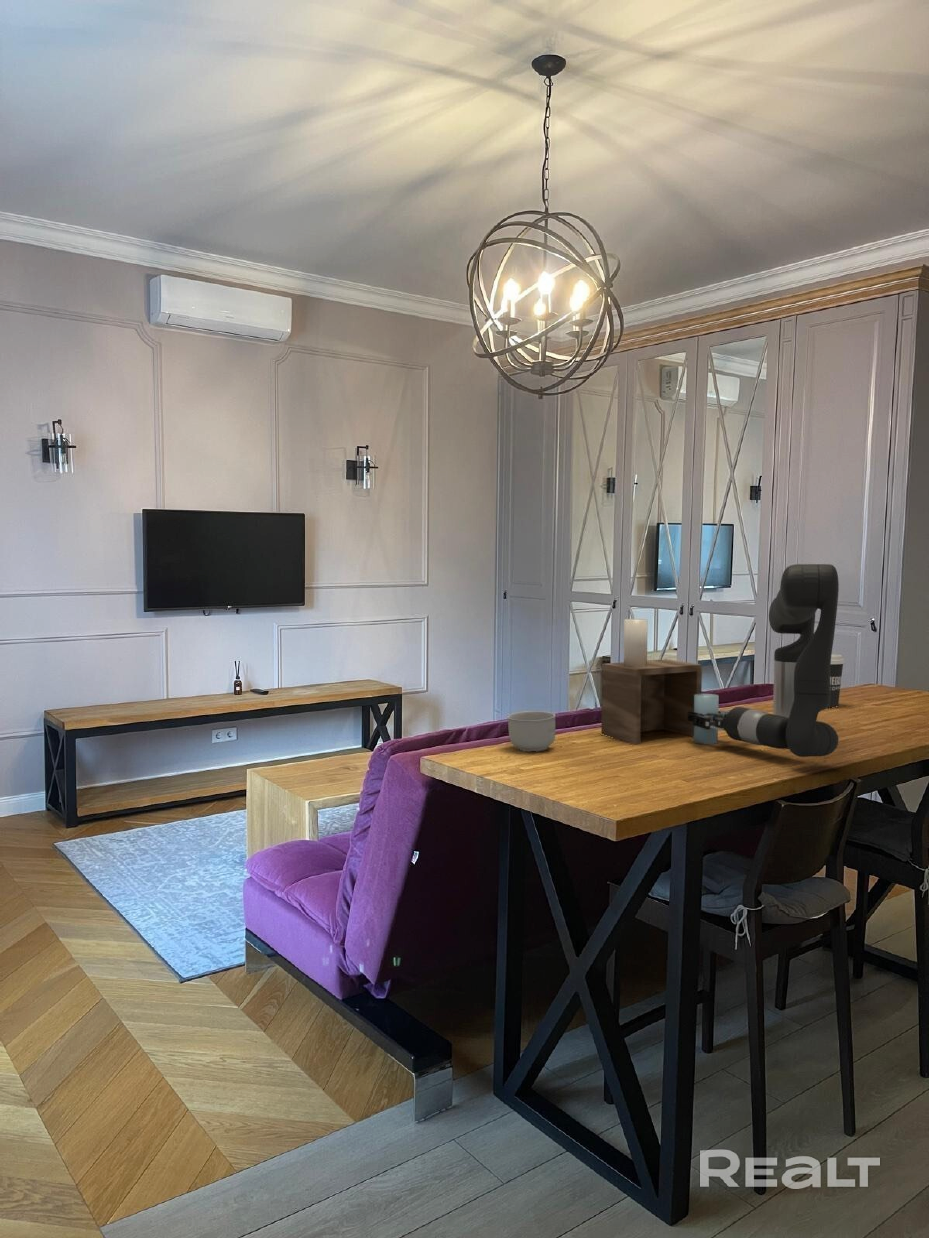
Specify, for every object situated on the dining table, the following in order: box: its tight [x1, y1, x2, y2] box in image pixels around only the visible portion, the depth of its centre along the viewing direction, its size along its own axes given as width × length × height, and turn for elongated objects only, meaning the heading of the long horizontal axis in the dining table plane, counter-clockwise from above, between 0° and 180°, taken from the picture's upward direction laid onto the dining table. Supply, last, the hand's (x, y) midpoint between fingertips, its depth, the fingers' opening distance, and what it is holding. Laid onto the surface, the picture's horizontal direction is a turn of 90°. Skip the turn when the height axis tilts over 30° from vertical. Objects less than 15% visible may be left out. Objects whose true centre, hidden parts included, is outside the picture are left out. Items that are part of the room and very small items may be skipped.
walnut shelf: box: [601, 659, 703, 745], centre depth 220 cm, size 20×13×18 cm, turn 118°
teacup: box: [506, 710, 556, 752], centre depth 207 cm, size 14×11×8 cm
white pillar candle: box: [623, 618, 649, 667], centre depth 217 cm, size 6×6×11 cm
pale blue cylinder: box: [693, 693, 720, 745], centre depth 213 cm, size 6×6×11 cm
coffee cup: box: [829, 653, 846, 707], centre depth 263 cm, size 10×10×15 cm
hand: (698, 714), depth 215 cm, fingers closed on pale blue cylinder, 5 cm apart
